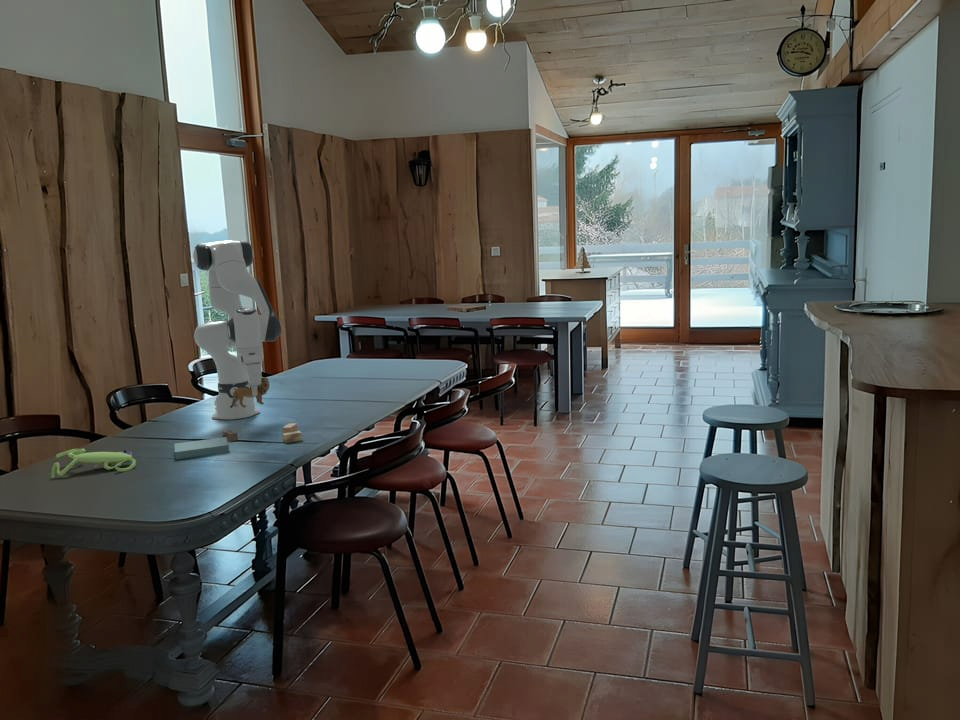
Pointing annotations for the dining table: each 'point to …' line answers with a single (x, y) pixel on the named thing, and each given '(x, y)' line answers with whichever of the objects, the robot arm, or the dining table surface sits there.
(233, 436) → the walnut brick
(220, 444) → the teal slab
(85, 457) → the figurine
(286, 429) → the terracotta brick
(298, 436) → the oak brick
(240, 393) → the lion figurine
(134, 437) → the dining table surface
